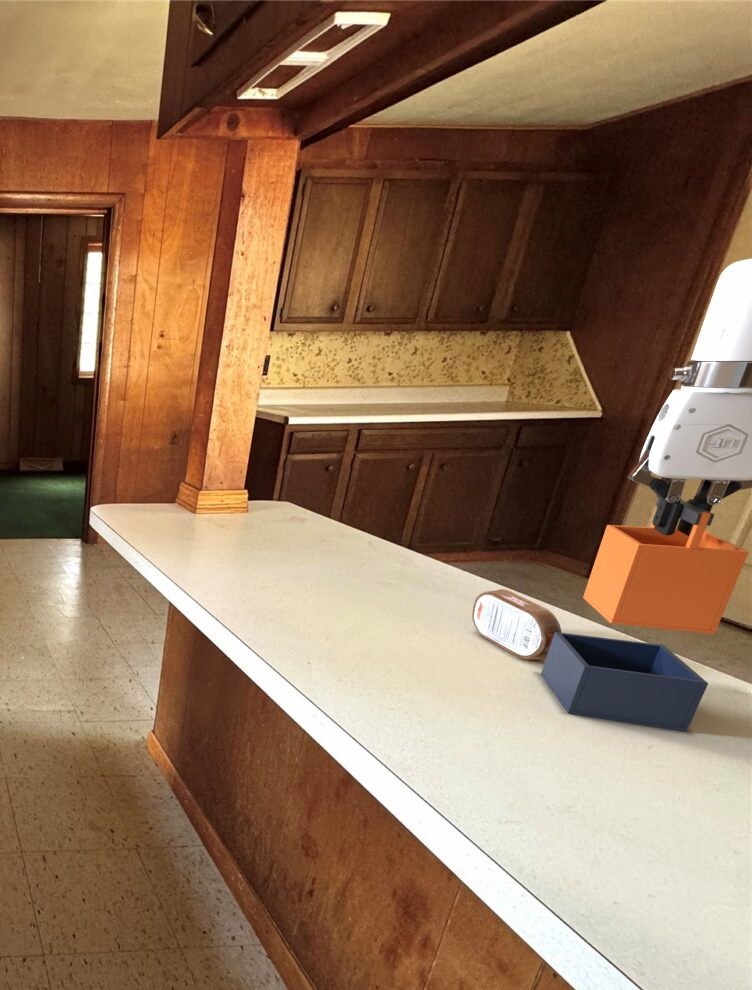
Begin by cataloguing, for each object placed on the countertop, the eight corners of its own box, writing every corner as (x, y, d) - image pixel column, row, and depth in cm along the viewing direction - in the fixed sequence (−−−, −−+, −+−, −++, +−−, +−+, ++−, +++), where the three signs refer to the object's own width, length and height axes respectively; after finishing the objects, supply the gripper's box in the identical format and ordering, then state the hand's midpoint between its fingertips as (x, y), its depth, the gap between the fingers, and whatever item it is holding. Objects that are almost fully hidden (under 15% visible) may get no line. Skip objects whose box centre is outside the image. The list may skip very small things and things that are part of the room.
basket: (675, 605, 88) (717, 497, 83) (715, 634, 80) (765, 516, 74) (582, 597, 92) (616, 493, 87) (611, 624, 84) (651, 511, 78)
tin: (554, 668, 99) (572, 617, 96) (533, 669, 99) (550, 618, 96) (481, 628, 113) (494, 582, 110) (462, 628, 113) (475, 582, 110)
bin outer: (645, 689, 93) (663, 644, 90) (686, 732, 83) (708, 683, 81) (540, 674, 98) (554, 631, 95) (567, 713, 88) (584, 666, 85)
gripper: (655, 380, 75) (604, 536, 82) (856, 378, 69) (782, 547, 75) (627, 376, 82) (581, 521, 88) (809, 374, 75) (745, 530, 82)
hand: (674, 532), depth 82 cm, fingers closed on basket, 1 cm apart
